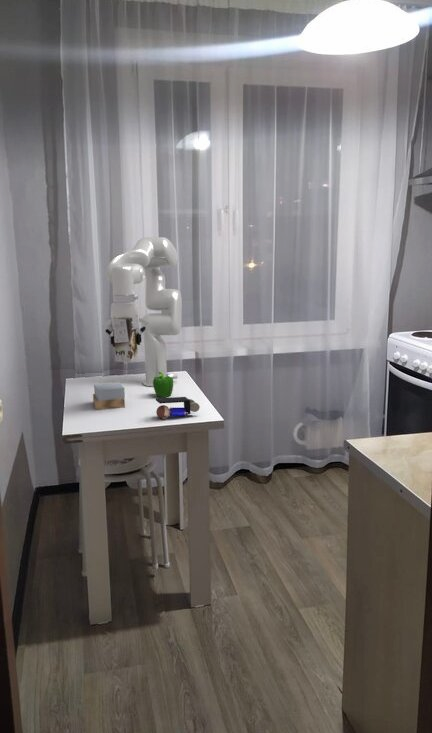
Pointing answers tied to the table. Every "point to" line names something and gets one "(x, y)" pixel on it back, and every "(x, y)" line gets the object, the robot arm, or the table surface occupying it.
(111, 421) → the table surface
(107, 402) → the tower base block
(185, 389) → the table surface
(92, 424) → the table surface
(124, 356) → the coffee box
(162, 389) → the bell pepper
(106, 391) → the tower top block
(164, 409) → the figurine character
